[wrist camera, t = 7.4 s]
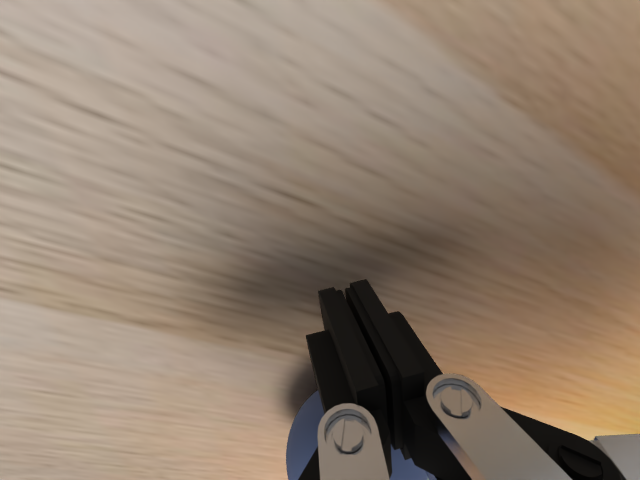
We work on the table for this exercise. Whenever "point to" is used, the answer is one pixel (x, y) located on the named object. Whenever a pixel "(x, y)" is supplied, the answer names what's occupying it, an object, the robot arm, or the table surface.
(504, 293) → the table surface
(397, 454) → the blue ball
